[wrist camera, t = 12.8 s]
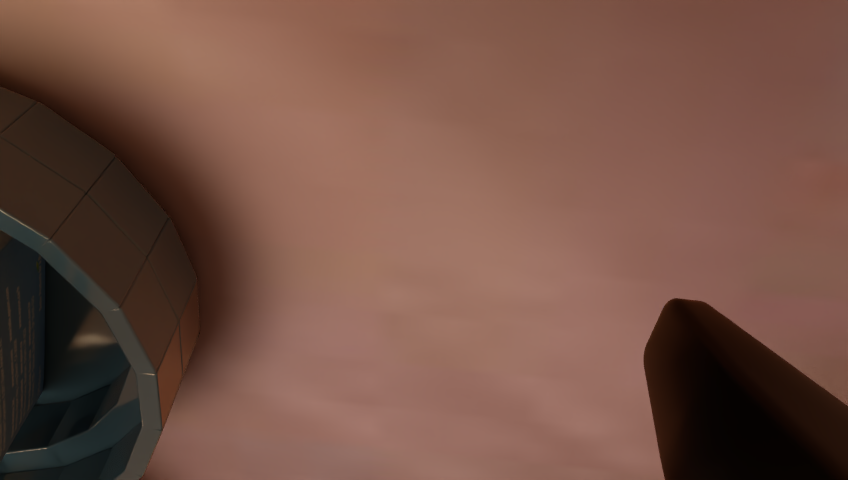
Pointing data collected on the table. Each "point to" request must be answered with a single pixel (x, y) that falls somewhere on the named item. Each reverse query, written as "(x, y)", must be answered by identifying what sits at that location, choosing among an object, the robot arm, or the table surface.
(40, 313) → the blue retail package
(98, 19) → the table surface
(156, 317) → the bowl
